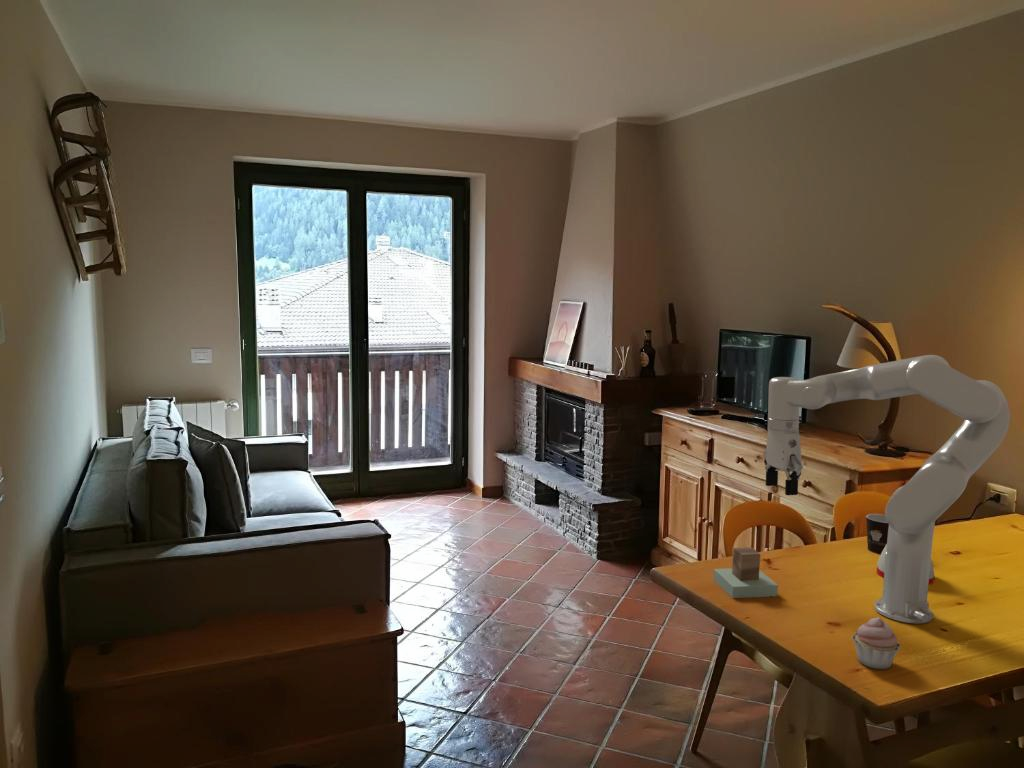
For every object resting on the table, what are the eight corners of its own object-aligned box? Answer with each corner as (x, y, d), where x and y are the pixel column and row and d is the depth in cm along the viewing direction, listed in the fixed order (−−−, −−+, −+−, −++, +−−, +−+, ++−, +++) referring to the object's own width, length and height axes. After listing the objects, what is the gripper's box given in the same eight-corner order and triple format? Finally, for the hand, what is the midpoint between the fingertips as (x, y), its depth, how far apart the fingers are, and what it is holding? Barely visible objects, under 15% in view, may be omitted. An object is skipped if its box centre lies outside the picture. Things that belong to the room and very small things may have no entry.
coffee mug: (857, 547, 229) (859, 515, 228) (880, 544, 231) (882, 513, 230) (886, 560, 218) (889, 527, 217) (910, 557, 220) (913, 524, 219)
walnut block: (758, 580, 194) (760, 553, 193) (740, 580, 193) (741, 554, 192) (749, 572, 199) (751, 547, 198) (731, 573, 198) (733, 547, 197)
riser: (777, 596, 191) (777, 584, 191) (732, 598, 189) (732, 586, 189) (755, 578, 203) (756, 567, 202) (713, 579, 201) (713, 569, 201)
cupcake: (884, 678, 151) (889, 631, 150) (841, 659, 159) (844, 614, 157) (908, 665, 157) (912, 620, 155) (865, 648, 164) (868, 604, 163)
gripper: (815, 430, 186) (813, 497, 188) (779, 419, 203) (777, 481, 205) (787, 431, 185) (785, 499, 187) (753, 420, 202) (751, 483, 204)
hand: (781, 490), depth 196 cm, fingers open, 9 cm apart
